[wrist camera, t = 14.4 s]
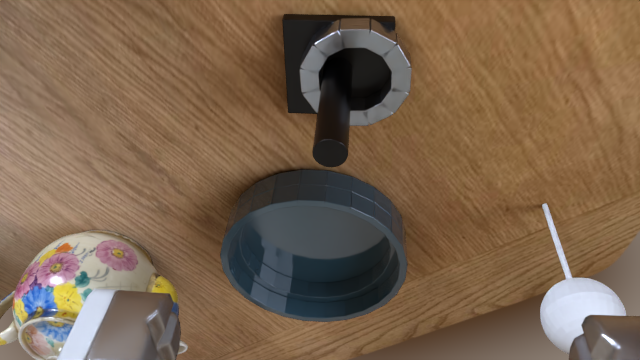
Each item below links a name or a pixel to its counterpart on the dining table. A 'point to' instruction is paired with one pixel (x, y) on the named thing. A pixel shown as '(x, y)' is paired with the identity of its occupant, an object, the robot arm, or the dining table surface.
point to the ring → (359, 36)
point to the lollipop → (573, 301)
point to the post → (331, 82)
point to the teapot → (75, 287)
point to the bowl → (315, 246)
